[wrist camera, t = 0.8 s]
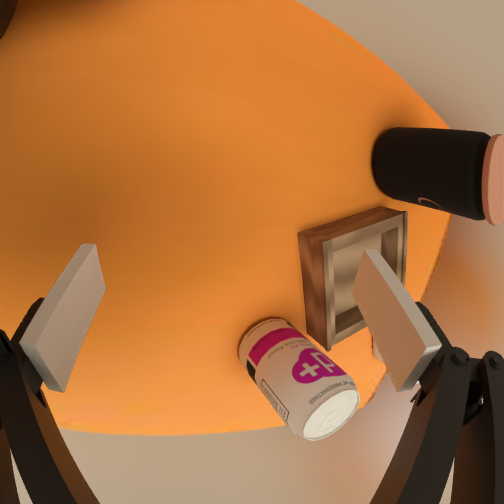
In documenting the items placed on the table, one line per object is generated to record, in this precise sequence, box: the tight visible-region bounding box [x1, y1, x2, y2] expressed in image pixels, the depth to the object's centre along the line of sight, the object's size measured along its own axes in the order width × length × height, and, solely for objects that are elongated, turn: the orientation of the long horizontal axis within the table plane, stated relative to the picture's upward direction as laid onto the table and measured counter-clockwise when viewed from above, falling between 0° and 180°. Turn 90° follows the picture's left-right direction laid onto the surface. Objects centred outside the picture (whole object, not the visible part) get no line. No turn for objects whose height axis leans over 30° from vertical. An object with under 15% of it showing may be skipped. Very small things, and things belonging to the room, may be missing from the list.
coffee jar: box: [373, 127, 504, 226], centre depth 32 cm, size 11×11×18 cm
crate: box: [298, 207, 407, 352], centre depth 39 cm, size 15×15×5 cm
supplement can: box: [239, 319, 360, 440], centre depth 33 cm, size 8×8×15 cm
